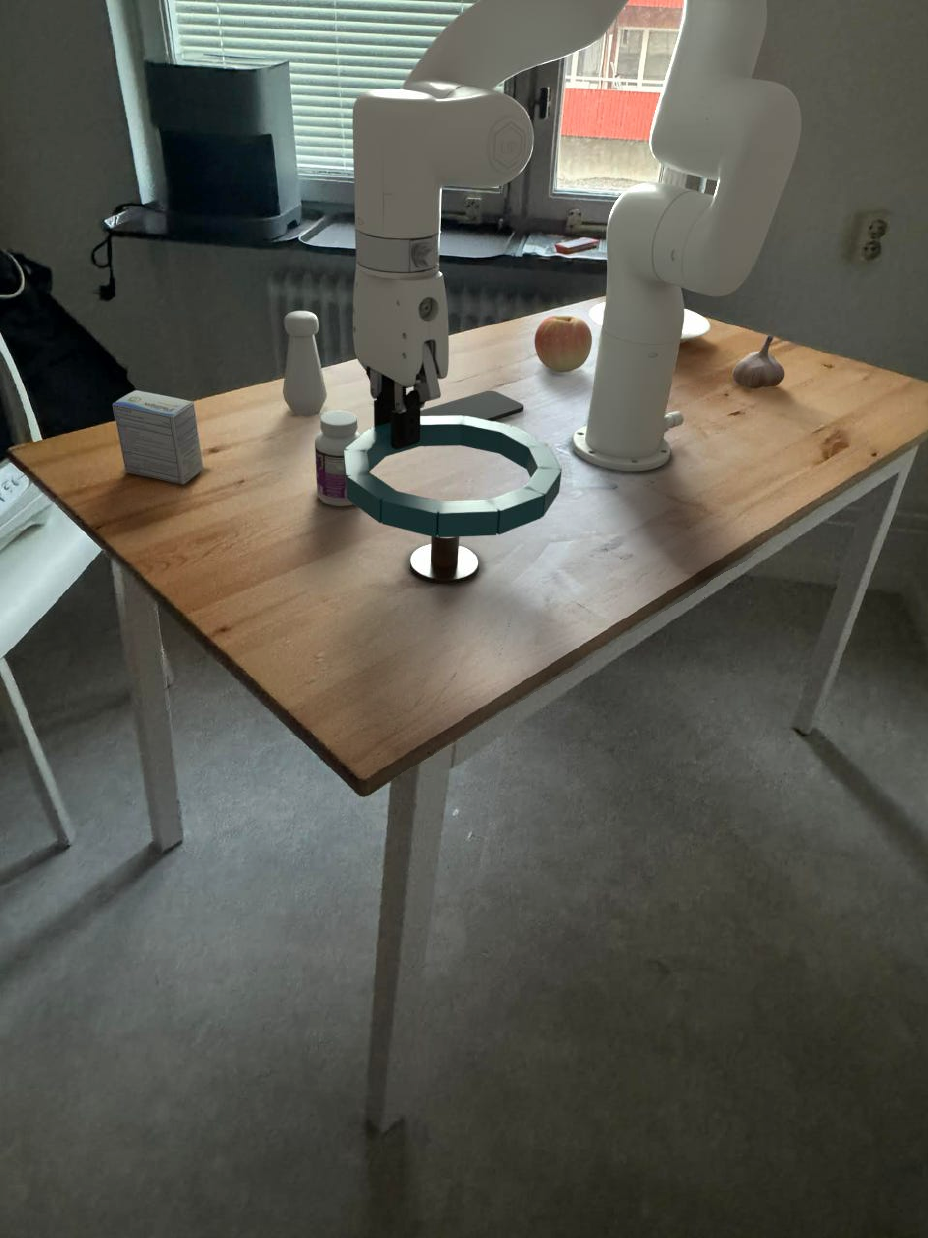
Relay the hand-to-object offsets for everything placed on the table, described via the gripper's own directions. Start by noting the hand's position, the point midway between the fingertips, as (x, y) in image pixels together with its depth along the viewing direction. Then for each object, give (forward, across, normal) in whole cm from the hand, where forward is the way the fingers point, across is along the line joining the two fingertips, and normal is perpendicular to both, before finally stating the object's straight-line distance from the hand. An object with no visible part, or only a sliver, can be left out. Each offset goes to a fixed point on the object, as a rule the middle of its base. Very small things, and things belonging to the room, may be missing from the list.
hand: (397, 438), depth 90 cm
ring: (+1, -9, 0) cm, 9 cm away
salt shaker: (+11, +32, -8) cm, 35 cm away
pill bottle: (+11, +9, +1) cm, 14 cm away
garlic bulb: (+11, +5, -72) cm, 73 cm away
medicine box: (+10, +25, +15) cm, 31 cm away
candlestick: (+11, +29, -72) cm, 78 cm away
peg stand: (+10, -9, 0) cm, 14 cm away
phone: (+11, +19, -26) cm, 34 cm away
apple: (+11, +26, -50) cm, 57 cm away
